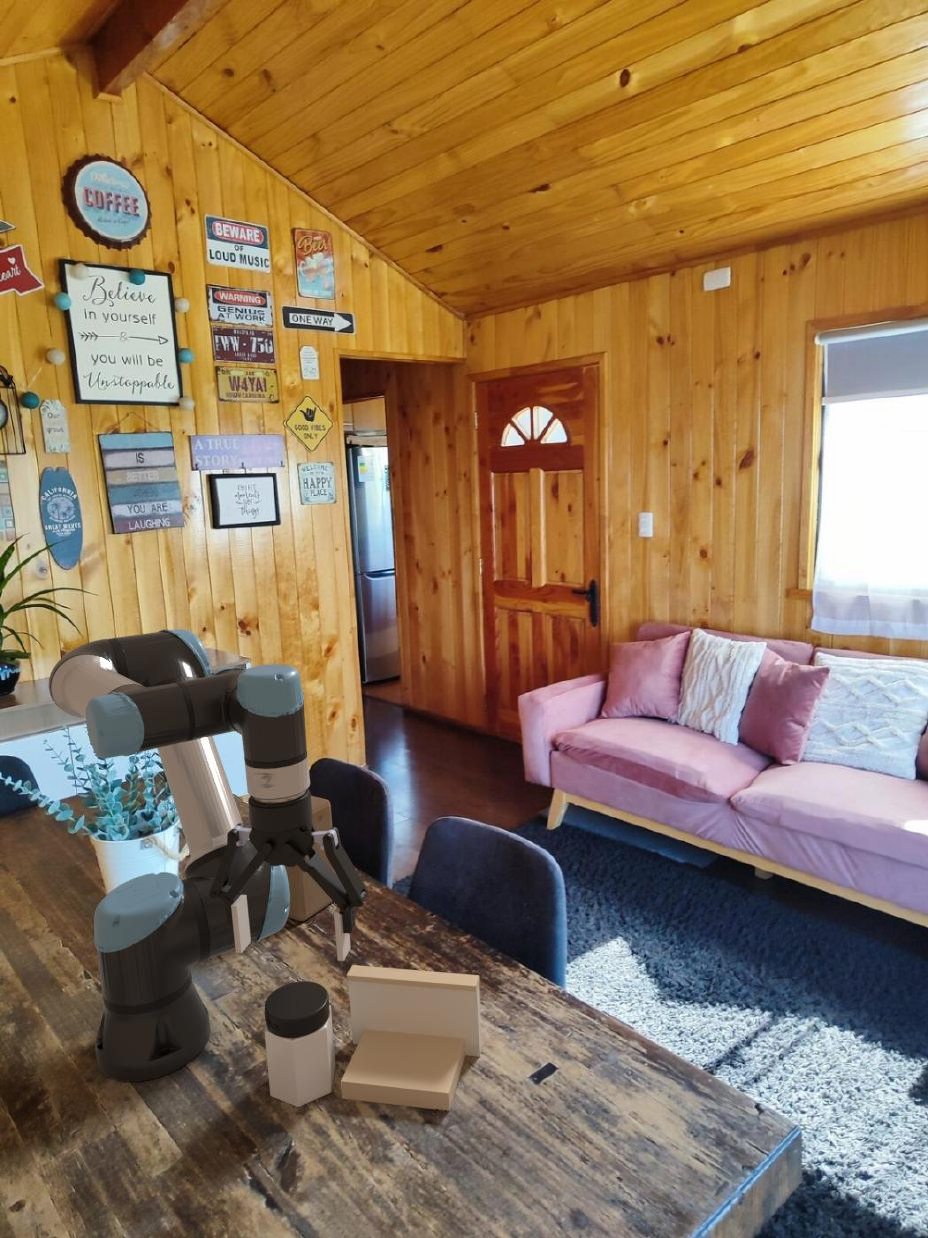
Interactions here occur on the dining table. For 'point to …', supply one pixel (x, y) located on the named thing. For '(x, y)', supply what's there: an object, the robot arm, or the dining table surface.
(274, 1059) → the jar
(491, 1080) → the dining table surface
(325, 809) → the wooden block
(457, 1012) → the cleat board
